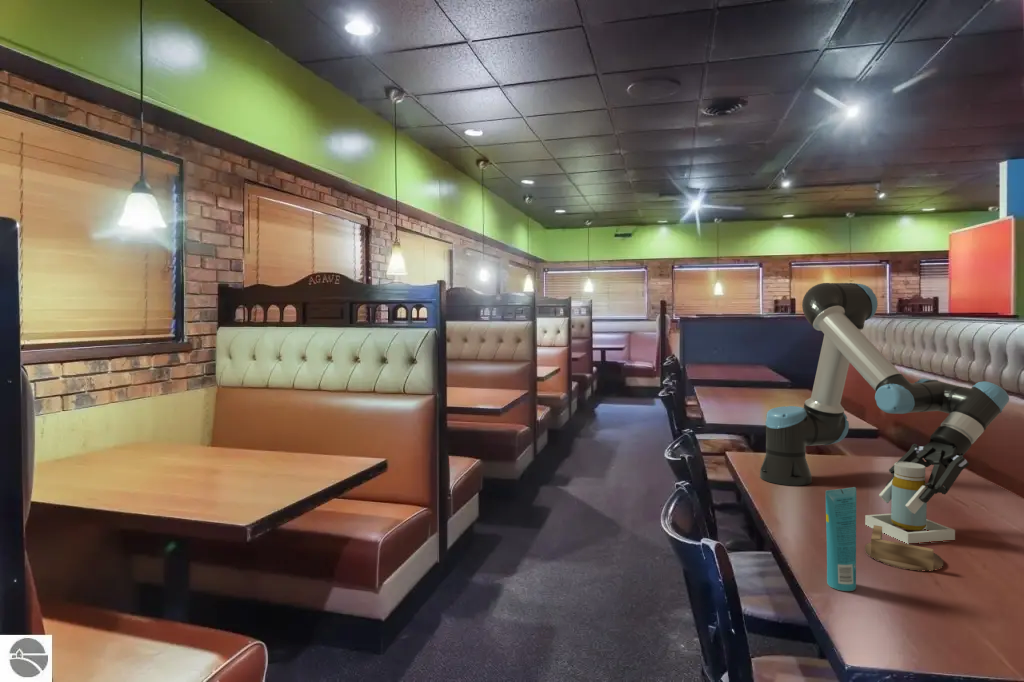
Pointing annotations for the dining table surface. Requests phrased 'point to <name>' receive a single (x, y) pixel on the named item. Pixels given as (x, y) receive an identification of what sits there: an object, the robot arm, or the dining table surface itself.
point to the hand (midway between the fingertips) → (896, 504)
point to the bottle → (907, 495)
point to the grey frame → (934, 533)
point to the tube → (841, 538)
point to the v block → (902, 553)
